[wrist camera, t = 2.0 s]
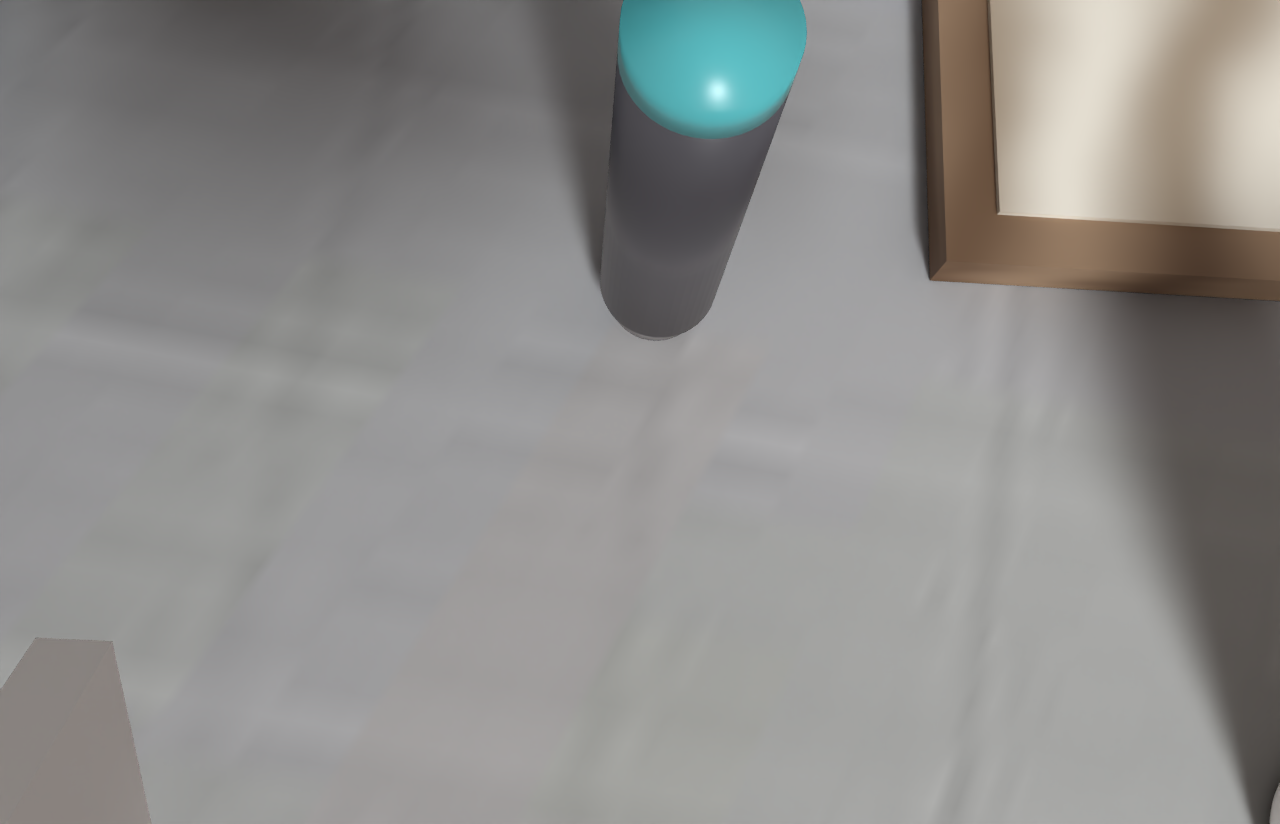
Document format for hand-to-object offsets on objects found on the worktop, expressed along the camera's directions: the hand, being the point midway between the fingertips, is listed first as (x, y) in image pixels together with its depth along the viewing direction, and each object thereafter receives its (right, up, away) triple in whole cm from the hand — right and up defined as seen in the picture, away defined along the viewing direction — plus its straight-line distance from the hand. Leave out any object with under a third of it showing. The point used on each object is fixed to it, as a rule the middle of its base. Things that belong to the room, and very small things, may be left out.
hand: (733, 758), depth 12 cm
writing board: (+16, +15, +23) cm, 32 cm away
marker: (-1, +7, +20) cm, 21 cm away
